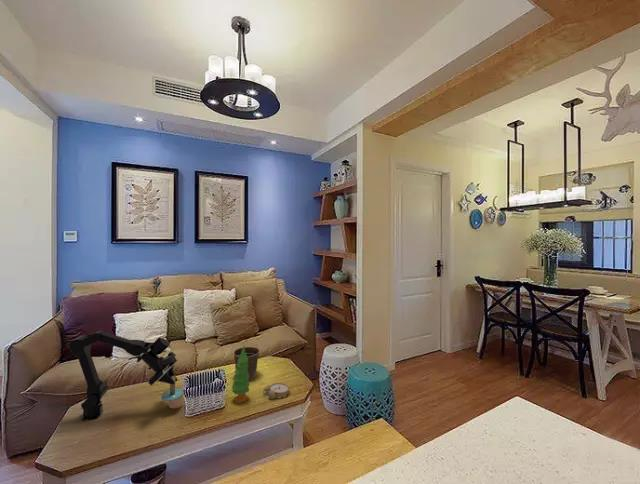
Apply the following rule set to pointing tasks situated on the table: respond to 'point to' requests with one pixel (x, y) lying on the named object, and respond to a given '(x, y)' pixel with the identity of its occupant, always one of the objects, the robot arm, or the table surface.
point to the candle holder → (276, 390)
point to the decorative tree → (241, 378)
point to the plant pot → (249, 359)
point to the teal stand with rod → (172, 393)
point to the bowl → (177, 402)
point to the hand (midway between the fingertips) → (175, 382)
